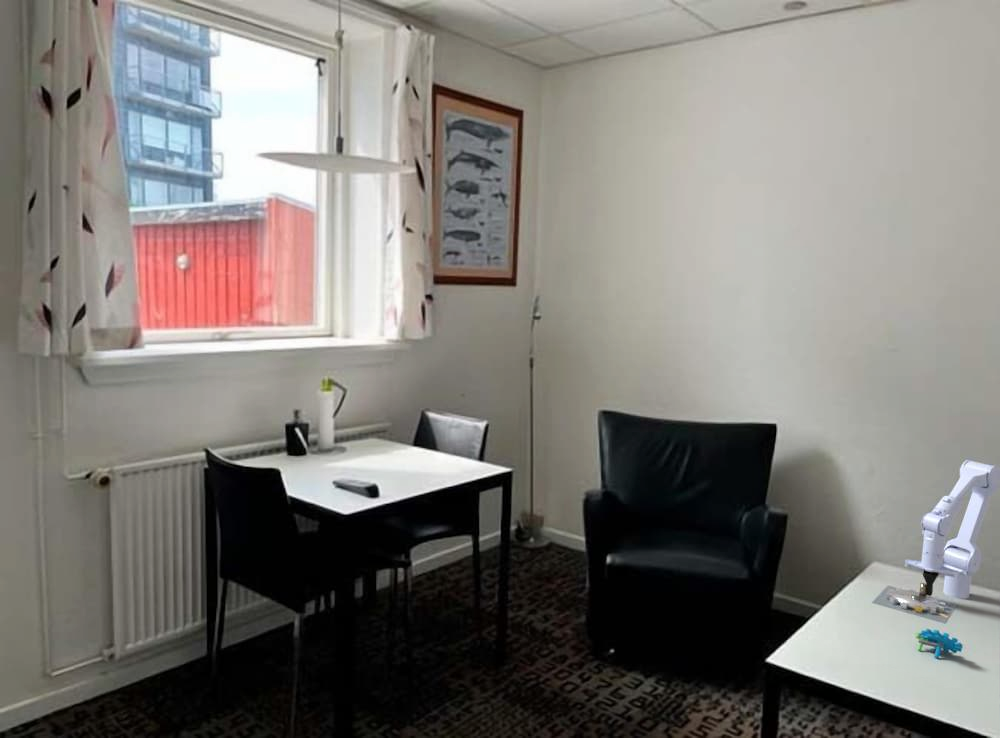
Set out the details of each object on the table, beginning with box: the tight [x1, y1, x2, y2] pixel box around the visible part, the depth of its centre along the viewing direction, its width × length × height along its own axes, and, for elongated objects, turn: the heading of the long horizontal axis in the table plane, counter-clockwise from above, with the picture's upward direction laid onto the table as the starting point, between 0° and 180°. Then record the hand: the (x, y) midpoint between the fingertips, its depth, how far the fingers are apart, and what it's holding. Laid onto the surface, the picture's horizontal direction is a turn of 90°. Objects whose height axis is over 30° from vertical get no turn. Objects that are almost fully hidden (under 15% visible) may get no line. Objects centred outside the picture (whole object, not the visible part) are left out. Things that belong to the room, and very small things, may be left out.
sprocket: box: [886, 582, 945, 614], centre depth 237 cm, size 16×16×5 cm
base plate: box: [871, 585, 959, 624], centre depth 238 cm, size 20×20×1 cm
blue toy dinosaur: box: [915, 628, 964, 659], centre depth 205 cm, size 11×6×10 cm
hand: (928, 594), depth 240 cm, fingers closed, pressing on sprocket
